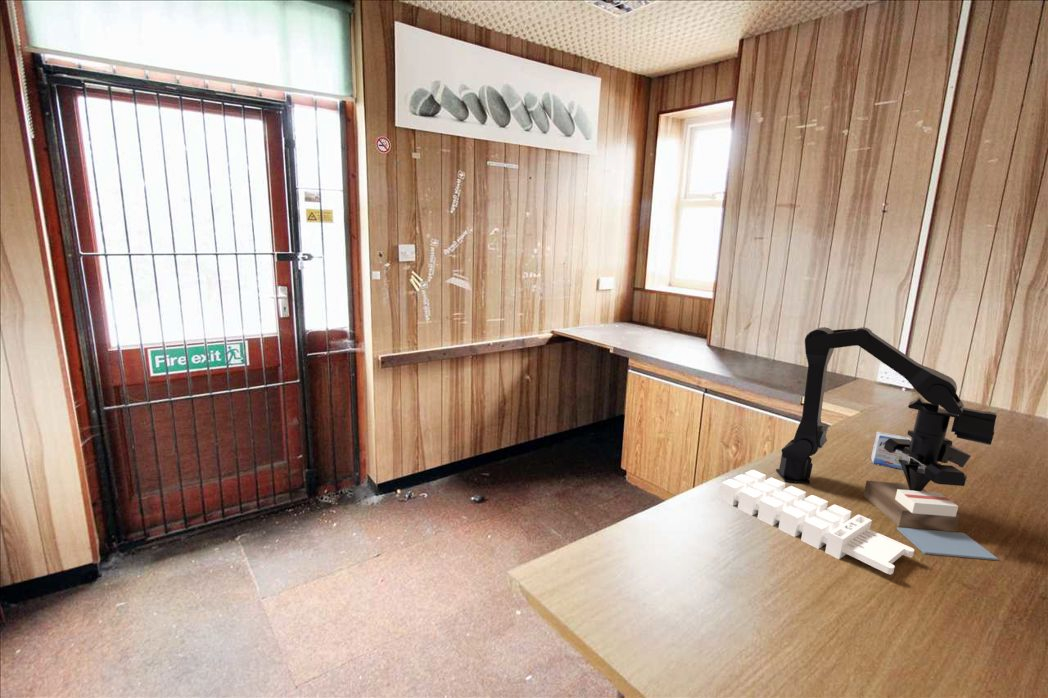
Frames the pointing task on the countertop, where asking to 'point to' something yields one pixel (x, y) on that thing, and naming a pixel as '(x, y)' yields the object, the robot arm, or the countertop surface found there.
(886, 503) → the taupe square box
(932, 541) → the mat
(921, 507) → the card box
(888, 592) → the countertop surface
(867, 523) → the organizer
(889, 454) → the medicine box
